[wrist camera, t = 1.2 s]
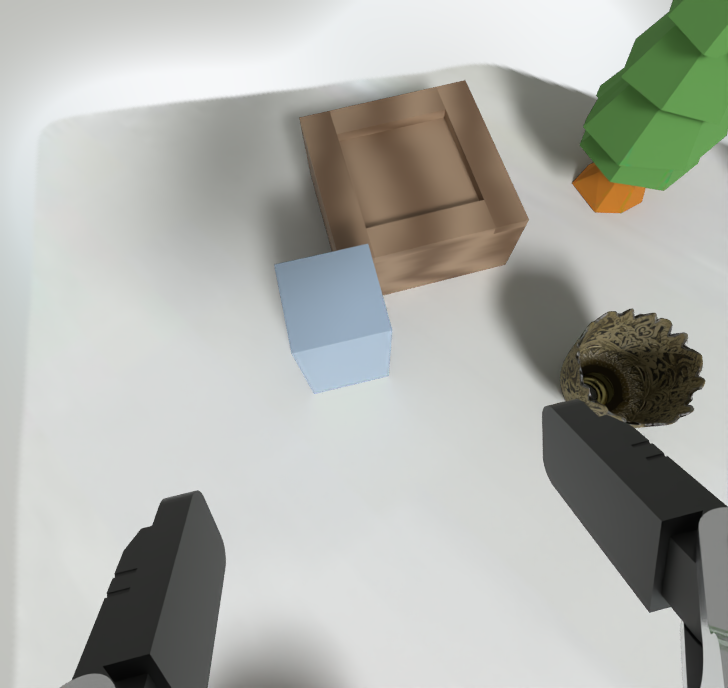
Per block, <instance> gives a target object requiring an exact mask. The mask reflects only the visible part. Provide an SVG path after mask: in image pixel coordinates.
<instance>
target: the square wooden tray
mask: <svg viewBox="0 0 728 688" xmlns="http://www.w3.org/2000/svg"><path fill="white" fill-rule="evenodd" d="M299 119H300V124H301V129H302V134H303V139H304V144H305V149H306V154H307V159H308V164H309V169H310V173H311V177H312V181H313V184H314V188H315V192H316V195H317V199H318V202H319V206H320V210H321V213H322V217H323V221H324V224H325V228H326V231H327V235H328V239H329V242H330V246H331V250H332V252H333V251H338V250H342V249H347V248H351V247H356V246H360V245H365V244H368V245H369V249H370V252H371V256H372V259H373V263H374V266H375V270H376V274H377V277H378V281H379V284H380V288H381V291H382V295H387V294H391V293H395V292H399V291H403V290H407V289H410V288H414V287H418V286H422V285H426V284H430V283H434V282H438V281H442V280H446V279H450V278H454V277H458V276H462V275H466V274H470V273H474V272H478V271H482V270H486V269H490V268H494V267H498V266H502V265H505V264H506V262H507V260H508V259H509V257H510V255H511V253H512V251H513V249H514V247H515V245H516V243H517V241H518V240H519V238H520V236H521V234H522V232H523V230H524V228H525V226H526V224H527V222H528V220H529V219H528V217H527V214H526V212H525V210H524V208H523V206H522V203H521V201H520V199H519V197H518V195H517V192H516V190H515V188H514V186H513V184H512V182H511V179H510V177H509V175H508V173H507V171H506V168H505V166H504V164H503V162H502V160H501V157H500V155H499V153H498V151H497V149H496V146H495V144H494V142H493V140H492V138H491V136H490V133H489V131H488V129H487V127H486V125H485V122H484V120H483V118H482V116H481V114H480V111H479V109H478V107H477V105H476V103H475V100H474V98H473V96H472V94H471V92H470V90H469V87H468V85H467V83H466V81H465V80H464V81H460V82H456V83H451V84H447V85H442V86H438V87H433V88H429V89H424V90H420V91H416V92H411V93H407V94H402V95H398V96H393V97H389V98H384V99H380V100H376V101H371V102H367V103H362V104H358V105H353V106H349V107H344V108H340V109H336V110H331V111H327V112H322V113H318V114H313V115H309V116H304V117H300V118H299Z"/></svg>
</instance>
